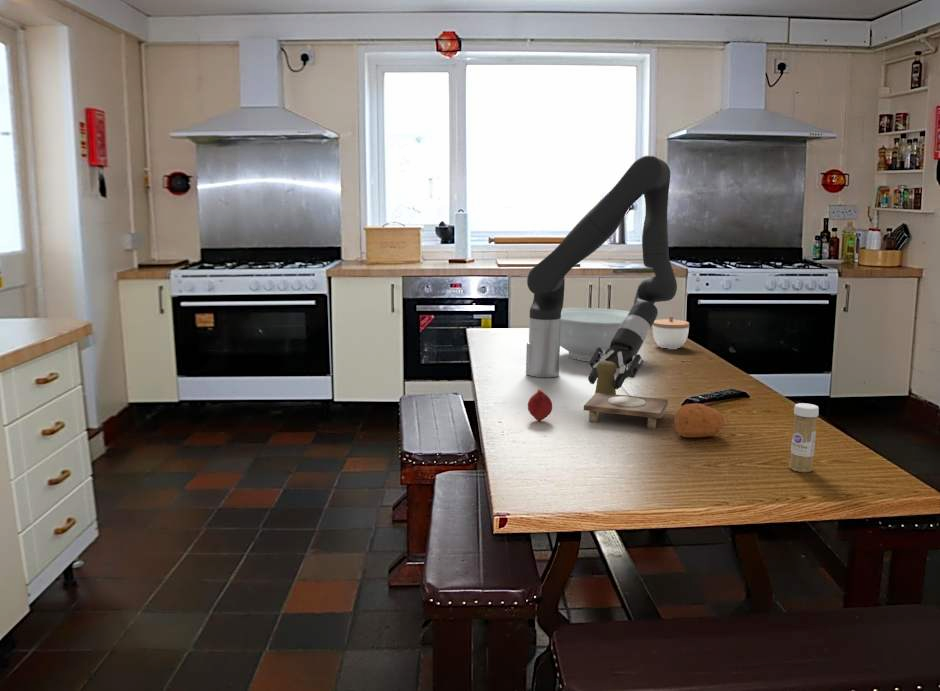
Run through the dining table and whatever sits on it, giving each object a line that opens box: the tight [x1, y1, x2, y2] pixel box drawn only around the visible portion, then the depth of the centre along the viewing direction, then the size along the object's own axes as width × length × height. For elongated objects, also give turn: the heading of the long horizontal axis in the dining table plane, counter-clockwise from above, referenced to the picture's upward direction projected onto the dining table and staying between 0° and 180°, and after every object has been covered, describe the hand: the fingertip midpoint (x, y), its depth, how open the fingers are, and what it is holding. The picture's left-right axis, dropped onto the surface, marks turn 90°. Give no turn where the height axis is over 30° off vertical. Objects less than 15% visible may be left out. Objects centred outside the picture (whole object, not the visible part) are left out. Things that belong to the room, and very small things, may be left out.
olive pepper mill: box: [594, 361, 618, 395], centre depth 227 cm, size 6×6×11 cm
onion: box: [527, 388, 553, 422], centre depth 208 cm, size 6×6×8 cm
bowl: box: [560, 307, 630, 362], centre depth 285 cm, size 32×32×15 cm
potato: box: [673, 402, 725, 439], centre depth 198 cm, size 9×11×8 cm
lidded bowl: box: [652, 315, 690, 350], centre depth 305 cm, size 13×13×11 cm
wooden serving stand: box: [583, 392, 669, 430], centre depth 212 cm, size 18×14×5 cm
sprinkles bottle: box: [788, 402, 820, 473], centre depth 175 cm, size 5×5×14 cm
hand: (602, 384), depth 226 cm, fingers open, 7 cm apart
